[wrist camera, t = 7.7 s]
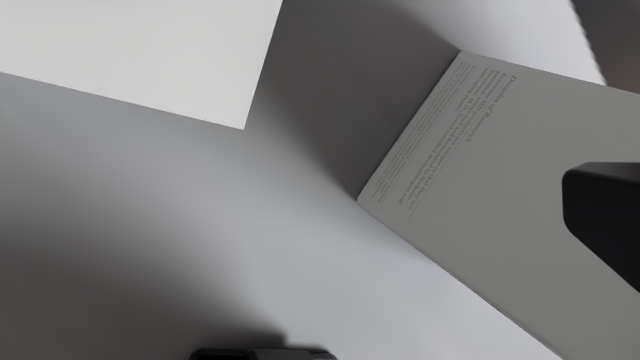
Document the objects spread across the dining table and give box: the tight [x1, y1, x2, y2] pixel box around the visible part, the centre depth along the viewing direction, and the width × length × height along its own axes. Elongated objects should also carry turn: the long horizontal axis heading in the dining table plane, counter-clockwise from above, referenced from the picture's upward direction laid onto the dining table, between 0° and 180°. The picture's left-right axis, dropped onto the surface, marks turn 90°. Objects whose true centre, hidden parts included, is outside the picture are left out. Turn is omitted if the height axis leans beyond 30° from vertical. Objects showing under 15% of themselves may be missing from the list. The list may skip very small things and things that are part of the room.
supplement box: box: [357, 51, 640, 360], centre depth 20 cm, size 7×7×13 cm
